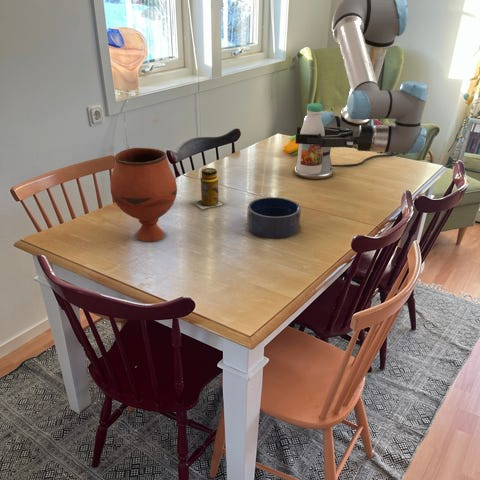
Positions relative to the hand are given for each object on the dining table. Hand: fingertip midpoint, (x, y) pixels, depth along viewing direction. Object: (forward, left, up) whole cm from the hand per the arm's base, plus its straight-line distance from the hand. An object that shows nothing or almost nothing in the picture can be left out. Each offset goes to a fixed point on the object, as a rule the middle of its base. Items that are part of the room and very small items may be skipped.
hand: (296, 135), depth 148 cm
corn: (-36, -61, -26) cm, 75 cm away
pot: (+11, +7, -26) cm, 29 cm away
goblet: (+49, -3, -26) cm, 55 cm away
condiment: (+23, -20, -26) cm, 40 cm away
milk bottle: (-4, +3, -11) cm, 12 cm away
